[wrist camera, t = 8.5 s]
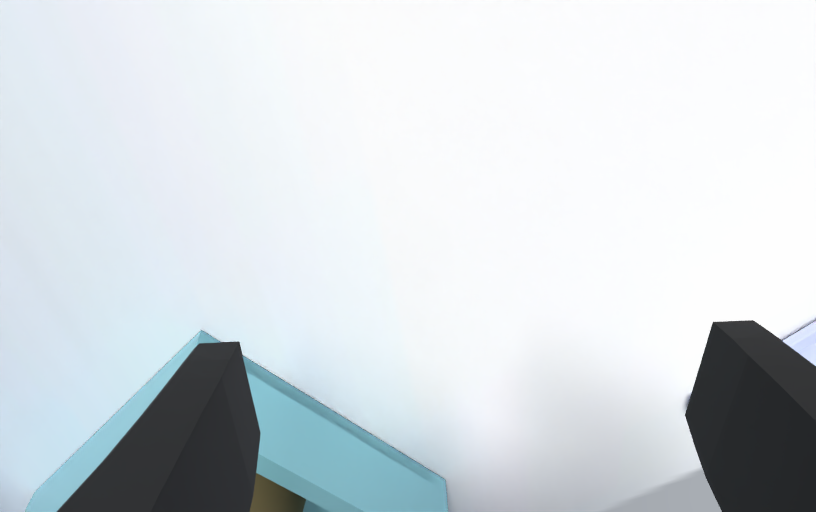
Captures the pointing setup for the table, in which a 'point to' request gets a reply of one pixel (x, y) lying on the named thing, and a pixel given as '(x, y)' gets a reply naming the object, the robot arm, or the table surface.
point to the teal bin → (280, 451)
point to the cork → (274, 497)
